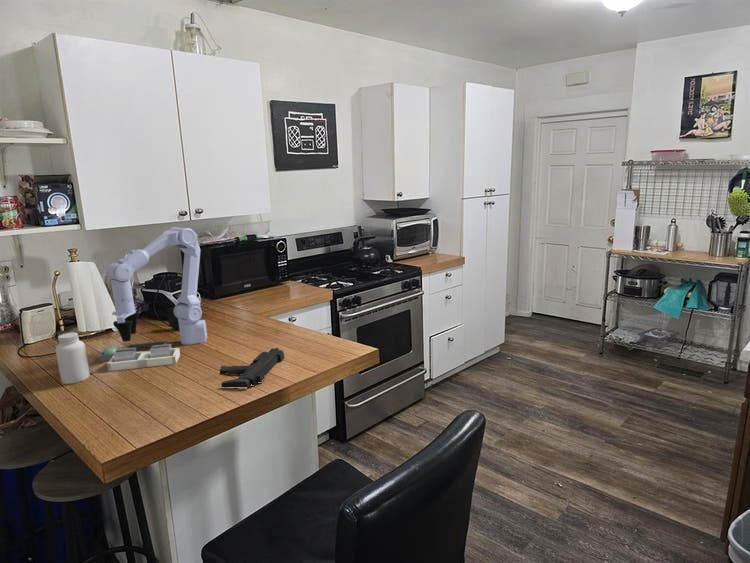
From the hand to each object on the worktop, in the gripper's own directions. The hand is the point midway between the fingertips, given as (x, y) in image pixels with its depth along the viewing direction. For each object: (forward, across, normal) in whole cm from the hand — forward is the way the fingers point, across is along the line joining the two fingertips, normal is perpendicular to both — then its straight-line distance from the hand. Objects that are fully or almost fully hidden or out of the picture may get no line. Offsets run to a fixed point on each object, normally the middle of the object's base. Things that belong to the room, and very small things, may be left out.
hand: (129, 337), depth 166 cm
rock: (+10, -35, +12) cm, 38 cm away
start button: (+8, -5, -8) cm, 13 cm away
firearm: (+10, +17, +38) cm, 43 cm away
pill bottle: (+9, +10, -15) cm, 20 cm away
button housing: (+9, -5, -8) cm, 13 cm away
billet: (+8, +4, -1) cm, 9 cm away
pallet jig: (+9, +4, +5) cm, 11 cm away
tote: (+9, -7, +2) cm, 12 cm away
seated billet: (+8, +4, +10) cm, 14 cm away
